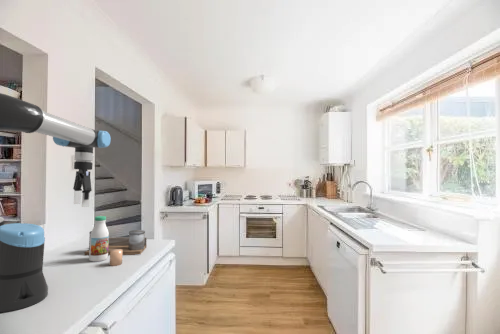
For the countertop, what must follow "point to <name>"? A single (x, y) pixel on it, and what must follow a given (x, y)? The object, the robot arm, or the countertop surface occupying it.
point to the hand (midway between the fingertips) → (81, 205)
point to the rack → (127, 243)
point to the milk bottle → (99, 240)
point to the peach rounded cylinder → (116, 257)
